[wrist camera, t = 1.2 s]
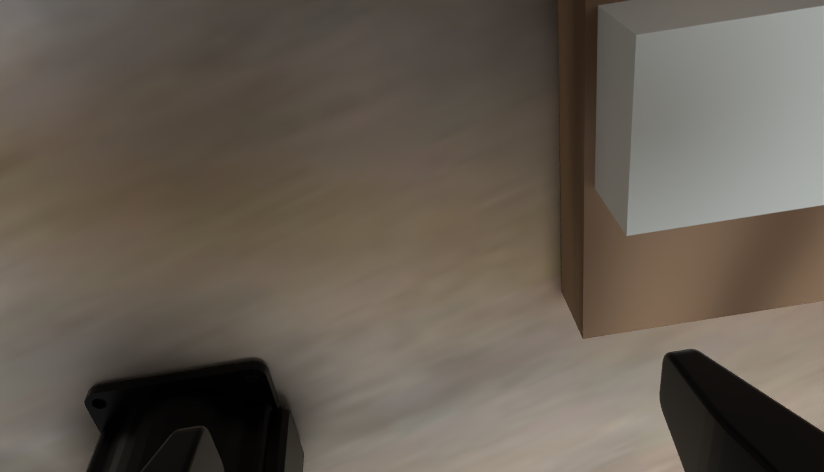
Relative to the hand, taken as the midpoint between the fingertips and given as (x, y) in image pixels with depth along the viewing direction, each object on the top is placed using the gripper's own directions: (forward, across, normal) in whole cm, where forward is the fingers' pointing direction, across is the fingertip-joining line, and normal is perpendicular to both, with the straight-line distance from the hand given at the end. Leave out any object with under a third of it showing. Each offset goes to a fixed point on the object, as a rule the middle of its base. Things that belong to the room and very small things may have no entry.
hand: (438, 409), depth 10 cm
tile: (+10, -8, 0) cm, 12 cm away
